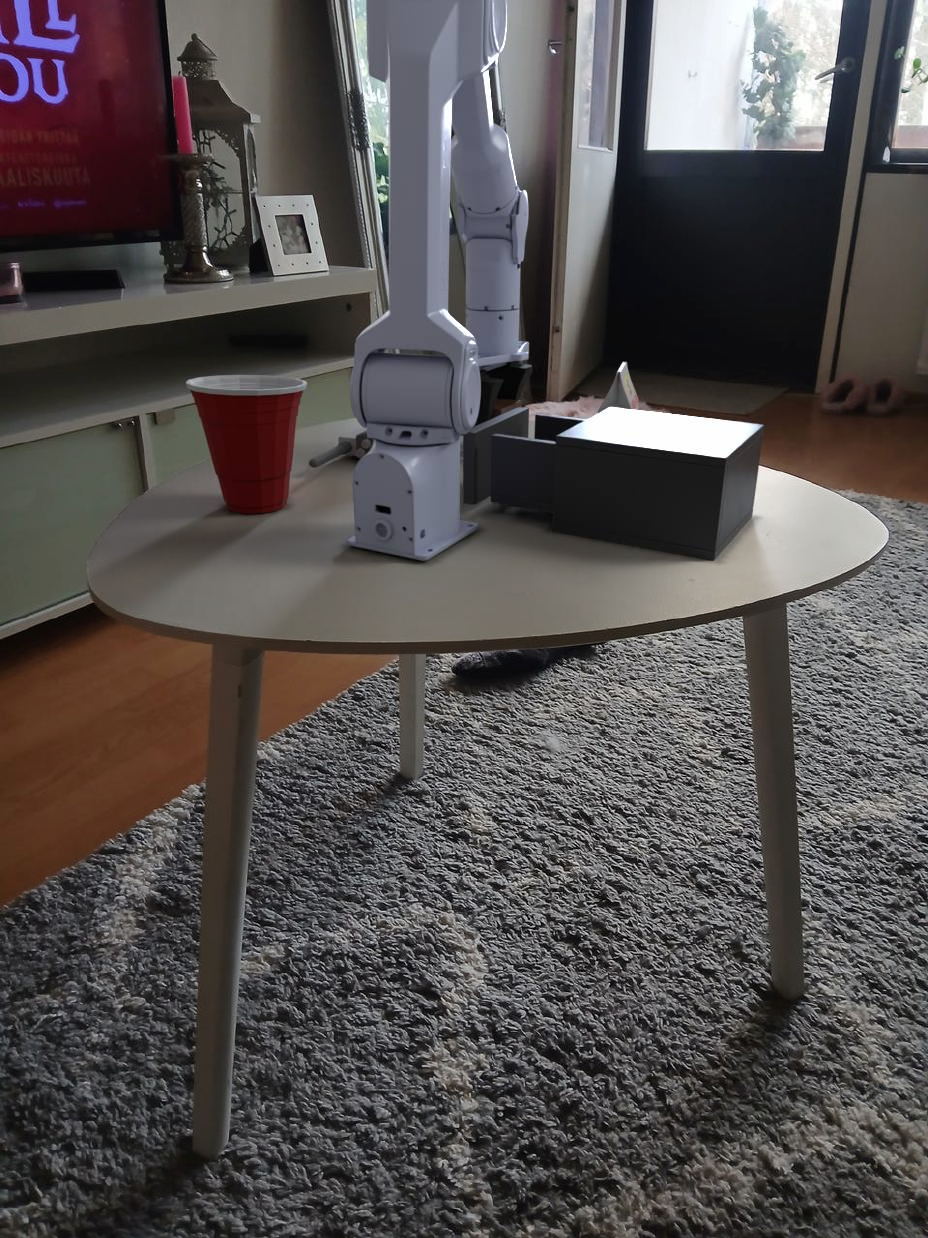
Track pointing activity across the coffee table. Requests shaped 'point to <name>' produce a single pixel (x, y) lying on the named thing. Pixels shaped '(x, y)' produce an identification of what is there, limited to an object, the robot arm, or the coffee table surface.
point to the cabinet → (656, 480)
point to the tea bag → (621, 392)
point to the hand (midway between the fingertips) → (490, 434)
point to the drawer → (512, 459)
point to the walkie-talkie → (346, 447)
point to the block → (504, 406)
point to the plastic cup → (250, 436)
